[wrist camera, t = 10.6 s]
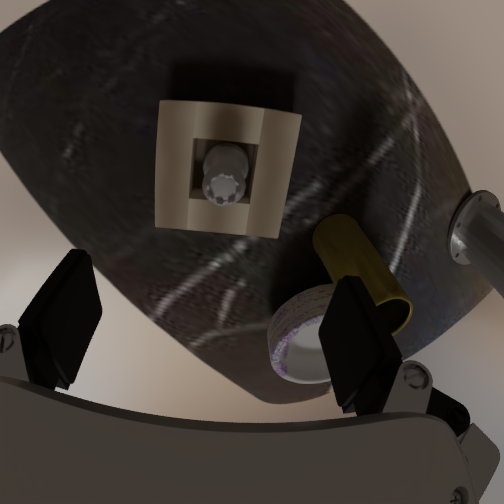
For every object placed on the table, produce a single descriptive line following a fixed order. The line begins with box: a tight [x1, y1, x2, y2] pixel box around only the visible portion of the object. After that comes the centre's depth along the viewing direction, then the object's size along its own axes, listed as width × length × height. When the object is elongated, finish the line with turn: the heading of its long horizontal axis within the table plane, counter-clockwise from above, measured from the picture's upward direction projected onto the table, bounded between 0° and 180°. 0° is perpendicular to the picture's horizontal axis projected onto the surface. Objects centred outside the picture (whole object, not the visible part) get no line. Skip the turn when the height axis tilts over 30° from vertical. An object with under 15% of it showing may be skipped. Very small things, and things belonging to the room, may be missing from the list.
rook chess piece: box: [202, 143, 249, 206], centre depth 23 cm, size 4×4×8 cm
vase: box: [312, 214, 413, 336], centre depth 26 cm, size 6×6×14 cm
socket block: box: [155, 100, 302, 238], centre depth 25 cm, size 12×12×4 cm
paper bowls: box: [267, 283, 336, 384], centre depth 35 cm, size 15×15×8 cm
